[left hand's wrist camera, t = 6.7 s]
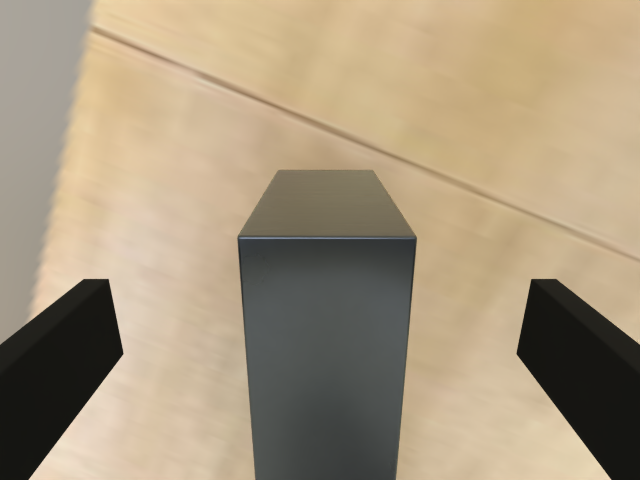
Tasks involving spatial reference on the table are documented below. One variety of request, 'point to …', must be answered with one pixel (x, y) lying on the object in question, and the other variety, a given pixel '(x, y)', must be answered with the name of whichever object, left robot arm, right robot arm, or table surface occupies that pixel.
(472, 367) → the table surface
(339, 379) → the bar
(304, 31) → the table surface
